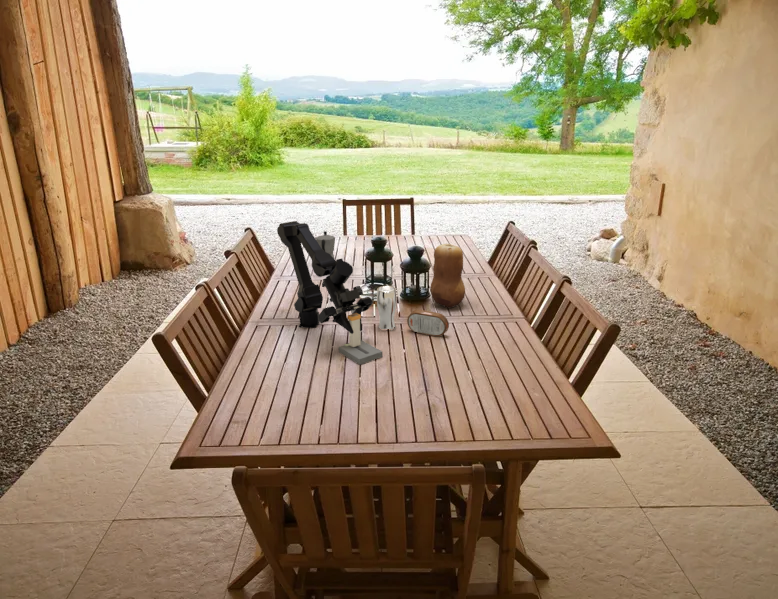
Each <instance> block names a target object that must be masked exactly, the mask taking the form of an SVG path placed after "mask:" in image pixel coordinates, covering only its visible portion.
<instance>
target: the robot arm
mask: <svg viewBox="0 0 778 599" xmlns="http://www.w3.org/2000/svg"><path fill="white" fill-rule="evenodd" d="M276 232H277V235H278V237H279V239H280V241H281V243H282V244H283V245H284V246H286V248H287V249H288V252H289V255H290V259H291V262H292V265H293V269H294V273H295V275H296V279H297V282H298V290H297V293H296V294H297V295H296V296H297V299H296V301H295V302H294V309H295V311H296V312H298V313H299V325H298V328H308V329H316V328H317V327H318V325H319V324H320V323H321V324H324V323H327V322H329V321H330V320H331V317H332V318H333V319H332V323H336V324H338V325H339V326H340V327H342V328H344V330H347V332H350V333H351V334H353V333H354V332H353V329H352V327H351V325H350V323H349V319H348V316H347V313H348V312H351V313H350V314H355V313H358V314H360V315H361V316H362V313H363V312H366V311H368V310H369V309H370V307H371V306H372V305H373V304H374V301H373V299H372V297H371V296H365V297H362V298H361V297H360V296H363V294H364V291H363V289H362V287H361V285H357V286H353V288H352V289H353V290H352V289H351V290H350V289H349V288H346V286H345V285H344V284H346V283H347V281H348V279H349V278H350V277H351V275H352V274H353V272H354V269H353V268H354V267H353V266H352V265H351V264H350V263H349V262H347V261H344V260H343V258H337V259H334V258H335V257H334V258H333V257H332V256H331V255H330V254H329V253H327V252H324V251H323V249H322V248H321V246H320V245H319V243H318V242H317V240H316V237H315V236H314V234H313V233H312V231H311V230H310V227H309V224H308V223H305V222H302V223H300V222H298V221H296V220H294V221H289V222H288V221H287V222H281V223H279V224H278V226H277V229H276ZM302 246H303V247H302ZM303 249H304V250H305V251H306V253H307V255H308V256H309V257H310V260H311V267H312V270H313V272H314V274H315V275H316V277H318V278H321V277H325V278H323V280H322V283H321V287H322V288H325V289H326V291H327V292H328V295H329V297H330V298H329V302H330V303H332V304H333V305H334V306H333V305H331V306H328V307H324V308H322V307H323V300H324V296H323V293H322V292H321V288H320V284H316V283H314V282H313V279H312V276H311V273H310V269H309V266H308V263H307V259H306V257H305V252H304V250H303ZM357 300H358V301H357ZM356 301H357V302H356ZM355 302H356V303H355ZM319 309H322V310H321V311H319ZM362 331H363V324H362V318H361V319H360V332H362Z"/></svg>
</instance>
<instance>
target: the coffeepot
mask: <svg viewBox="0 0 778 599" xmlns="http://www.w3.org/2000/svg"><path fill="white" fill-rule="evenodd" d="M327 232H328V231H323V234H322V235H319V236H316V237H315V239H316V240H317V242H318V243H319V245H320V246H321V248H322V249H323V251H324V252H327V253H329V254H330V255H331V256H332V257H333V258H334V259H335V254H334V251H335V245H336V237H335V236H334V235H330V234H328V233H327ZM335 260H336V259H335Z"/></svg>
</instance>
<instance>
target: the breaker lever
mask: <svg viewBox="0 0 778 599" xmlns="http://www.w3.org/2000/svg"><path fill="white" fill-rule="evenodd" d="M346 316H347V319H348V321H349V323H350V325H351V327H352V329H353V332H354V333H353V334H351V333H350V332H349V331H348V332H349V333H348V336H349V338H348V340H349V343H350V346H352V347H356V346H359V345H361V341H360V340H361V331H360V319H361V320H362V314H361V315H360V314H358V313H355V314H352V313H350V314H346Z"/></svg>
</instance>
